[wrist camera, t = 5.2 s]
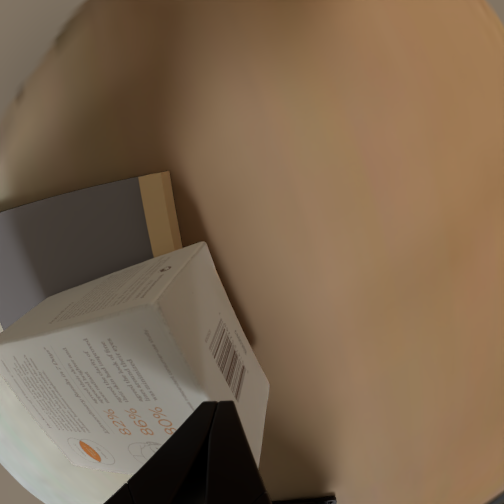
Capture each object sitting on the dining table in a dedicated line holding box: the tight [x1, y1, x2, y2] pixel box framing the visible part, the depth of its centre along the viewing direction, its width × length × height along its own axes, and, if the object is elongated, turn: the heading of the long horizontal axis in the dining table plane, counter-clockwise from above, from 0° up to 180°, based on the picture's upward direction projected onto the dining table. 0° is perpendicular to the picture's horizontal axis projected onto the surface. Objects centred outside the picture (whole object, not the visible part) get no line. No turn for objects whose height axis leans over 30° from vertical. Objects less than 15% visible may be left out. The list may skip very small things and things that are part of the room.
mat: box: [0, 171, 183, 330], centre depth 15 cm, size 12×14×1 cm
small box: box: [0, 241, 270, 475], centre depth 12 cm, size 8×6×10 cm
